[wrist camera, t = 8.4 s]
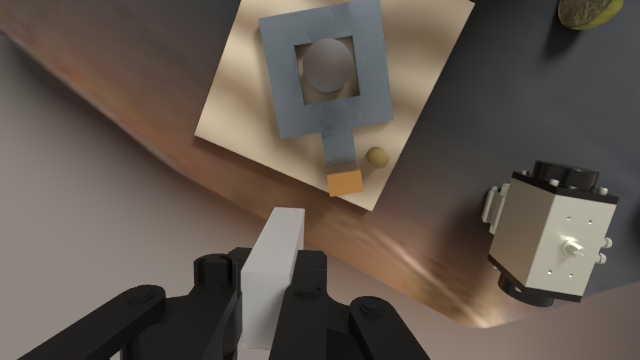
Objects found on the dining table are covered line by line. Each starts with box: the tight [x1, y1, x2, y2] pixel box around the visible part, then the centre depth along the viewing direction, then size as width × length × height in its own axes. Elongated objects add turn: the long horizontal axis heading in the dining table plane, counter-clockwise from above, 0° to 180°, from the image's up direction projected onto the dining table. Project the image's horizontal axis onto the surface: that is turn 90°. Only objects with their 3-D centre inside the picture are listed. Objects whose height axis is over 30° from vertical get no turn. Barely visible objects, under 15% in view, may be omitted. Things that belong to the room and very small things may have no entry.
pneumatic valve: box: [481, 160, 619, 307], centre depth 30 cm, size 6×12×12 cm, turn 171°
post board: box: [194, 0, 475, 211], centre depth 30 cm, size 22×20×7 cm
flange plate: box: [258, 0, 393, 197], centre depth 30 cm, size 16×11×5 cm, turn 9°
